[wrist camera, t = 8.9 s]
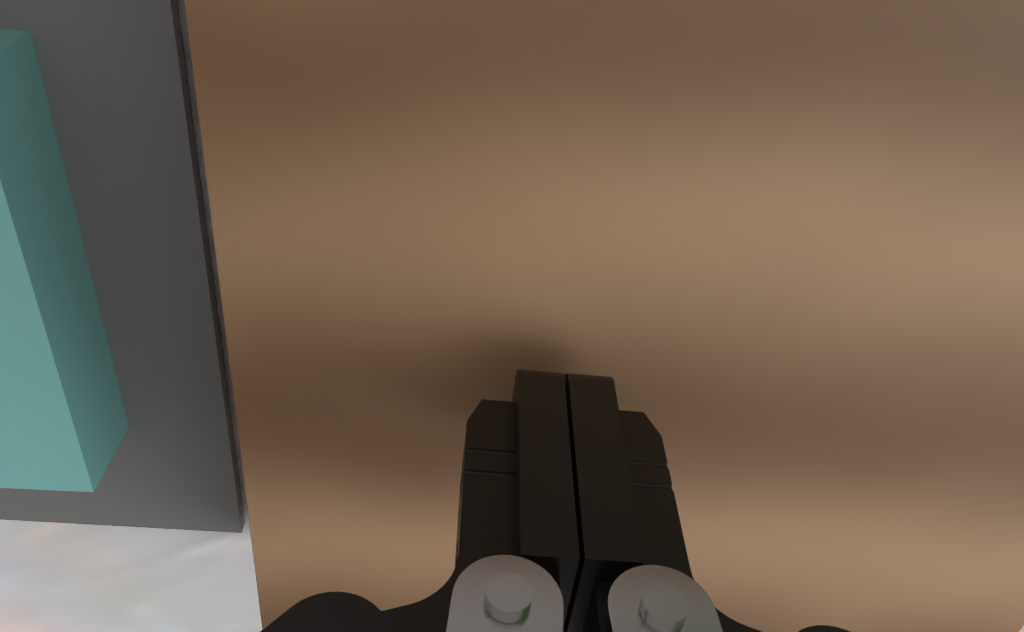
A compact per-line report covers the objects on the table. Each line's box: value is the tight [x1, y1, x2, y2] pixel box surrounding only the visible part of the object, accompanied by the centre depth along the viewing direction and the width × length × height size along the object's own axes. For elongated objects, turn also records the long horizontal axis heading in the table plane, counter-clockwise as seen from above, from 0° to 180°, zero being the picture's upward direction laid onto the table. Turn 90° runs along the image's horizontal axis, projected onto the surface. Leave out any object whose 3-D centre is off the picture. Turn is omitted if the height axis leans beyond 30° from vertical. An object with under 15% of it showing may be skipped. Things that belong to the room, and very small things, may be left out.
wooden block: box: [184, 0, 1024, 632], centre depth 16 cm, size 16×16×4 cm
